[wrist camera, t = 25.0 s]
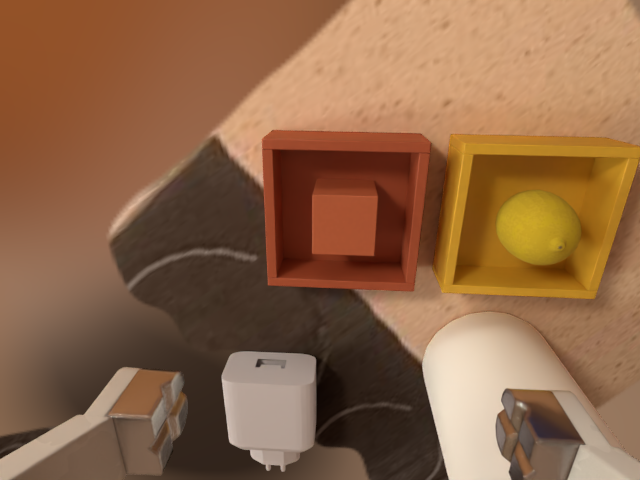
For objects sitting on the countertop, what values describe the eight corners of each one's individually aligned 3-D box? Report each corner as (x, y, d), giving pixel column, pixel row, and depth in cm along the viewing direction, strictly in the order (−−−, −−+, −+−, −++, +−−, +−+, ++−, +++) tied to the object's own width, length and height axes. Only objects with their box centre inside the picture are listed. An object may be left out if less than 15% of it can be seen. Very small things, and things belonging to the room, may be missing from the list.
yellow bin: (450, 134, 34) (464, 143, 30) (606, 137, 33) (644, 147, 29) (432, 269, 39) (442, 293, 34) (568, 274, 38) (594, 299, 34)
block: (316, 178, 35) (312, 194, 31) (374, 179, 35) (378, 196, 30) (316, 231, 37) (312, 254, 33) (370, 233, 37) (374, 256, 32)
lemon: (473, 230, 36) (505, 271, 29) (499, 171, 34) (541, 200, 27) (531, 245, 37) (578, 290, 29) (561, 188, 34) (619, 221, 27)
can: (397, 347, 42) (435, 561, 24) (505, 285, 39) (648, 480, 20) (460, 420, 46) (536, 657, 27) (566, 369, 42) (735, 602, 24)
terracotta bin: (271, 130, 34) (261, 138, 30) (421, 133, 34) (431, 142, 30) (276, 262, 39) (268, 285, 35) (406, 268, 39) (413, 291, 35)
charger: (241, 449, 50) (231, 350, 44) (316, 453, 49) (316, 353, 43) (231, 486, 45) (219, 381, 40) (313, 491, 45) (313, 385, 39)
